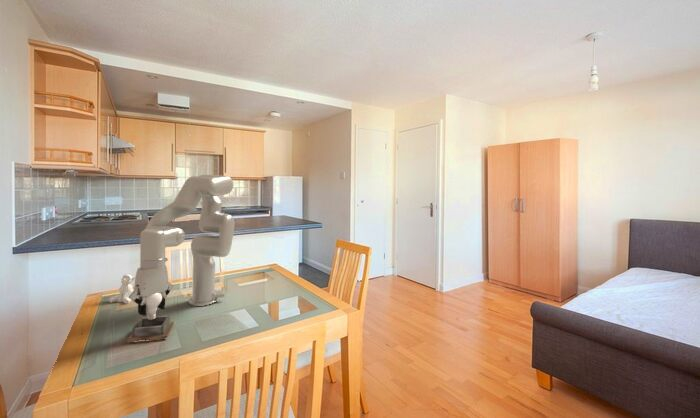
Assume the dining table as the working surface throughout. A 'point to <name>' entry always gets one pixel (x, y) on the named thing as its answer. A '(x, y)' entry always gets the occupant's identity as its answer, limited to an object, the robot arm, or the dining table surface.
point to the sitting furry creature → (124, 290)
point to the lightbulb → (152, 305)
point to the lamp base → (151, 329)
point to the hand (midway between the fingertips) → (151, 311)
